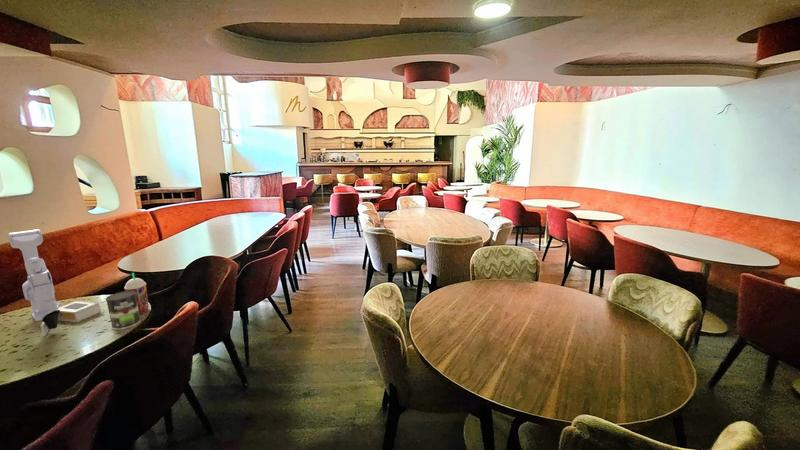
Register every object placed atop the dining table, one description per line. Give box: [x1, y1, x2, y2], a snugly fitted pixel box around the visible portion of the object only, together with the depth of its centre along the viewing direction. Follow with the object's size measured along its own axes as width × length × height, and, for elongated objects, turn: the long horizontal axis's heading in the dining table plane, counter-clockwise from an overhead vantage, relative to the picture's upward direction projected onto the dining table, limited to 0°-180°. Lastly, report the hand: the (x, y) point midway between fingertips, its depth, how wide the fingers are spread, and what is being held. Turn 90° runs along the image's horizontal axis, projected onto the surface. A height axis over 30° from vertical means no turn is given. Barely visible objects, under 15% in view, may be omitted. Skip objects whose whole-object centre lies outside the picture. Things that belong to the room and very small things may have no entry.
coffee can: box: [105, 290, 142, 331], centre depth 148 cm, size 10×10×14 cm
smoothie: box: [123, 272, 150, 314], centre depth 160 cm, size 8×8×20 cm
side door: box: [40, 321, 50, 337], centre depth 147 cm, size 1×19×5 cm, turn 39°
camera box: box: [57, 300, 102, 323], centre depth 158 cm, size 10×14×5 cm
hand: (53, 328), depth 143 cm, fingers closed
